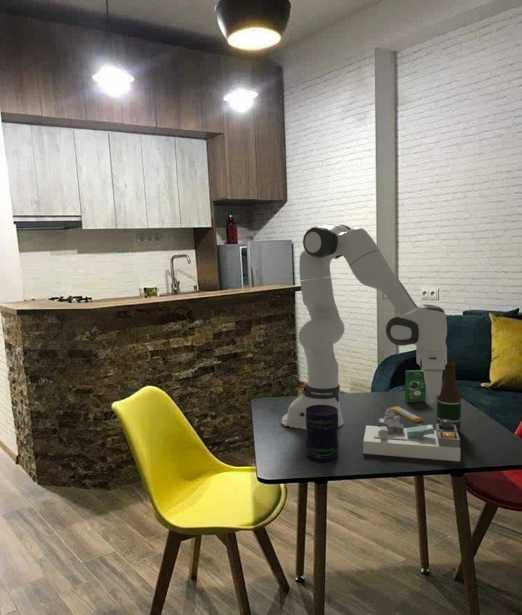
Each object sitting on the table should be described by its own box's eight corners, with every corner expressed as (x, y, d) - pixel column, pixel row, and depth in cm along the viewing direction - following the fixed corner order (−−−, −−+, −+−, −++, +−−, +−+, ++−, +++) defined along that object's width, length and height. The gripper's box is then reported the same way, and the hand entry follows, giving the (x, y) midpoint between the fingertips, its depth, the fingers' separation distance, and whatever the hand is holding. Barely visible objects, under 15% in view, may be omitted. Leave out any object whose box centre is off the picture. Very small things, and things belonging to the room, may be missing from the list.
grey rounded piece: (379, 425, 178) (379, 404, 177) (396, 423, 179) (396, 402, 178) (386, 431, 173) (386, 408, 172) (403, 429, 174) (403, 406, 173)
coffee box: (423, 400, 206) (423, 368, 205) (426, 402, 203) (426, 370, 202) (404, 401, 205) (404, 370, 204) (407, 403, 202) (407, 371, 201)
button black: (440, 430, 156) (440, 422, 155) (439, 426, 159) (440, 418, 159) (453, 431, 155) (453, 423, 154) (451, 427, 158) (452, 419, 158)
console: (363, 453, 154) (363, 432, 154) (366, 436, 168) (366, 417, 167) (460, 461, 147) (460, 439, 146) (455, 443, 160) (455, 423, 159)
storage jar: (335, 449, 158) (335, 404, 156) (341, 463, 148) (341, 414, 146) (304, 451, 158) (303, 405, 156) (308, 464, 148) (307, 415, 146)
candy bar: (425, 422, 181) (425, 417, 181) (415, 424, 179) (415, 419, 179) (398, 409, 197) (398, 404, 196) (389, 410, 195) (389, 406, 195)
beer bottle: (462, 435, 166) (464, 365, 164) (438, 434, 168) (439, 364, 165) (458, 427, 174) (459, 360, 171) (435, 426, 176) (436, 359, 173)
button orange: (442, 444, 149) (442, 436, 149) (441, 439, 153) (441, 431, 152) (455, 445, 148) (455, 436, 148) (454, 440, 152) (454, 432, 151)
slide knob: (380, 438, 154) (380, 429, 154) (380, 434, 157) (380, 426, 157) (386, 438, 154) (386, 430, 153) (386, 435, 157) (386, 426, 156)
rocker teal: (407, 437, 155) (406, 432, 155) (407, 432, 159) (406, 427, 159) (434, 433, 153) (433, 428, 152) (433, 428, 157) (432, 423, 157)
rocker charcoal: (377, 426, 160) (378, 421, 160) (378, 422, 164) (379, 417, 164) (402, 433, 158) (403, 428, 158) (402, 428, 162) (403, 423, 162)
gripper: (419, 351, 163) (419, 392, 164) (422, 365, 143) (422, 411, 145) (439, 351, 161) (439, 393, 163) (445, 365, 142) (445, 412, 143)
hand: (431, 402), depth 154 cm, fingers closed
